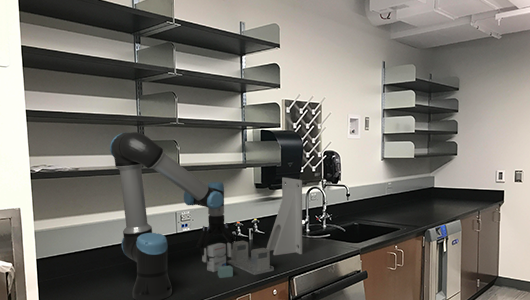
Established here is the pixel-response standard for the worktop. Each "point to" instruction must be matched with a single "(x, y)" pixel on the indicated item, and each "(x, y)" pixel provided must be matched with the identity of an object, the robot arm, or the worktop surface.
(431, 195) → the worktop surface
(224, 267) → the block
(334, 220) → the worktop surface
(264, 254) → the box holder
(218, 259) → the ink box
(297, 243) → the grey mounting bracket
